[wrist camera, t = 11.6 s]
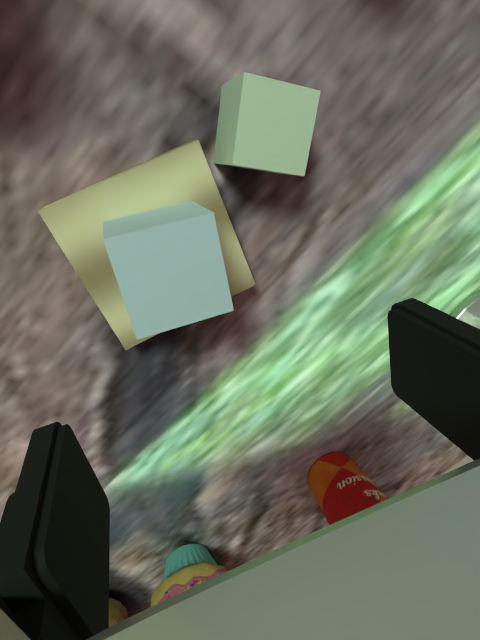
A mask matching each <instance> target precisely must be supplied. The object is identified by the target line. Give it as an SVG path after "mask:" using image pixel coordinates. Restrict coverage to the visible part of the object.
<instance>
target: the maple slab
mask: <svg viewBox="0 0 480 640" xmlns="http://www.w3.org/2000/svg"><path fill="white" fill-rule="evenodd" d="M189 201H193V202H195V203H197V204H199V205H201V206H203V207H204V208H206V209H208V210H210V211H212V212H214V216H215V221H216V226H217V231H218V236H219V241H220V245H221V250H222V255H223V260H224V265H225V270H226V275H227V280H228V285H229V290H230V294H231V297H233V296H235V295H236V294H238V293H240V292H242V291H244V290H246V289H248V288H250V287H252V286H254V285H256V284H255V282H254V279H253V277H252V274H251V272H250V269H249V267H248V264H247V262H246V259H245V257H244V254H243V252H242V249H241V247H240V244H239V241H238V239H237V236H236V234H235V231H234V229H233V226H232V224H231V221H230V219H229V216H228V214H227V211H226V209H225V206H224V204H223V201H222V199H221V196H220V194H219V191H218V189H217V186H216V183H215V181H214V178H213V176H212V173H211V171H210V168H209V166H208V163H207V161H206V158H205V156H204V153H203V151H202V148H201V146H200V143H199V141H198V140H194V141H190V142H188V143H185V144H183V145H181V146H179V147H176V148H174V149H172V150H170V151H167V152H165V153H163V154H161V155H159V156H156V157H154V158H152V159H150V160H147V161H145V162H143V163H141V164H138V165H136V166H134V167H132V168H129V169H127V170H125V171H123V172H121V173H118V174H116V175H114V176H112V177H109V178H107V179H105V180H103V181H100V182H98V183H96V184H94V185H91V186H89V187H87V188H85V189H82V190H80V191H78V192H76V193H74V194H71V195H69V196H67V197H65V198H62V199H60V200H58V201H56V202H53V203H51V204H49V205H47V206H44V207H43V208H42V209H40V210H39V211H38V212H39V214H40V216H41V217H42V219H43V220H44V222H45V223H46V225H47V227H48V228H49V230H50V231H51V233H52V234H53V236H54V238H55V239H56V241H57V242H58V244H59V246H60V247H61V249H62V250H63V252H64V253H65V255H66V257H67V258H68V260H69V261H70V263H71V264H72V266H73V268H74V269H75V271H76V272H77V274H78V276H79V277H80V279H81V280H82V282H83V283H84V285H85V287H86V288H87V290H88V291H89V293H90V294H91V296H92V298H93V299H94V301H95V302H96V304H97V306H98V307H99V309H100V310H101V312H102V313H103V315H104V317H105V318H106V320H107V321H108V323H109V324H110V326H111V328H112V329H113V331H114V332H115V334H116V336H117V337H118V339H119V340H120V342H121V343H122V345H123V347H124V348H125V350H127V349H129V348H131V347H133V346H135V345H137V344H139V343H141V342H143V341H145V340H147V339H149V338H151V337H153V336H155V335H157V334H155V335H151V336H148V337H145V338H141V339H138V340H137V339H136V336H135V333H134V330H133V327H132V324H131V321H130V318H129V315H128V312H127V309H126V306H125V303H124V300H123V297H122V294H121V291H120V288H119V285H118V282H117V280H116V277H115V274H114V271H113V268H112V265H111V262H110V259H109V256H108V253H107V250H106V247H105V244H104V241H103V221H108V220H112V219H116V218H121V217H125V216H129V215H133V214H138V213H142V212H146V211H150V210H155V209H159V208H163V207H167V206H172V205H176V204H180V203H185V202H189ZM158 334H159V333H158Z"/></svg>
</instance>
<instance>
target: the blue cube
mask: <svg viewBox="0 0 480 640" xmlns="http://www.w3.org/2000/svg"><path fill="white" fill-rule="evenodd" d="M103 241H104V244H105V247H106V250H107V253H108V256H109V259H110V262H111V265H112V268H113V271H114V274H115V277H116V280H117V282H118V285H119V288H120V291H121V294H122V297H123V300H124V303H125V306H126V309H127V312H128V315H129V318H130V321H131V324H132V327H133V330H134V333H135V336H136V339H137V340H138V339H141V338H145V337H148V336H151V335H155V334H158V333H161V332H165V331H168V330H171V329H174V328H178V327H181V326H184V325H188V324H191V323H194V322H198V321H201V320H204V319H208V318H211V317H214V316H218V315H221V314H224V313H228V312H231V311H234V309H233V304H232V299H231V294H230V290H229V285H228V280H227V275H226V270H225V265H224V260H223V255H222V250H221V245H220V241H219V236H218V231H217V226H216V221H215V216H214V212H212V211H210V210H208V209H206V208H204V207H203V206H201V205H199V204H197V203H195V202H193V201H189V202H185V203H180V204H176V205H172V206H167V207H163V208H159V209H155V210H150V211H146V212H142V213H138V214H133V215H129V216H125V217H121V218H116V219H112V220H108V221H103Z"/></svg>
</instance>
